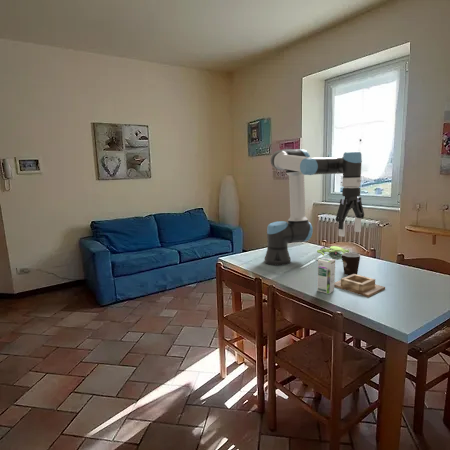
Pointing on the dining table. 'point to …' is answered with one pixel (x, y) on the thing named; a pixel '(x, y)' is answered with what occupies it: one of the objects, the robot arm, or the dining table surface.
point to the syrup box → (326, 275)
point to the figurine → (332, 250)
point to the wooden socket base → (359, 285)
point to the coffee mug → (350, 263)
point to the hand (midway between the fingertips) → (349, 234)
